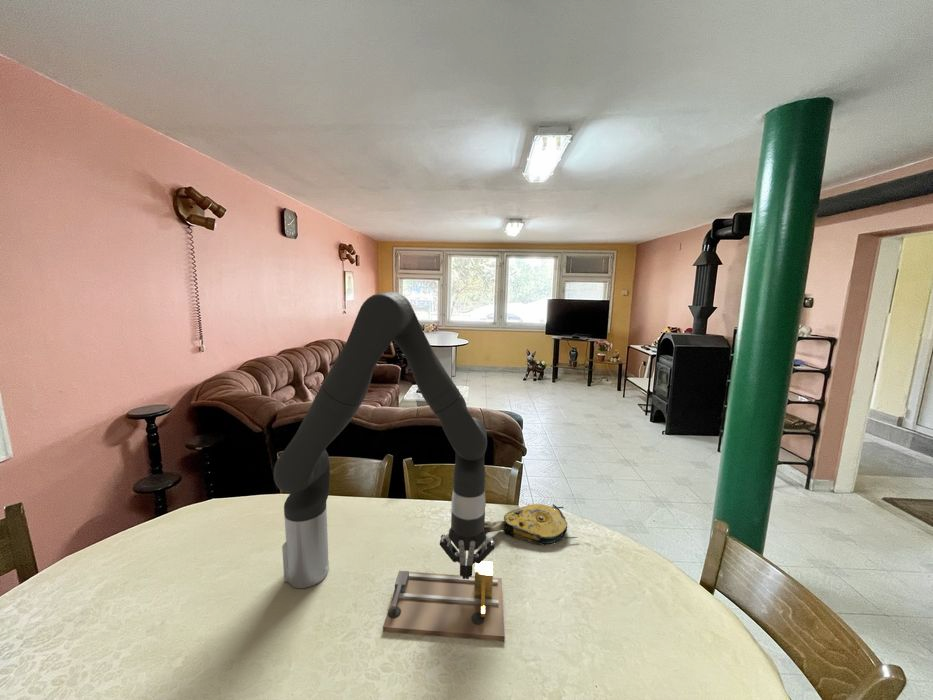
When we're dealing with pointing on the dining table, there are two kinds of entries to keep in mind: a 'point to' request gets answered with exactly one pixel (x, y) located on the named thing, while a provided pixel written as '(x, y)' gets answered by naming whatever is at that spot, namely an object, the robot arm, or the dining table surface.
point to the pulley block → (533, 524)
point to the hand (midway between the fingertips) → (466, 576)
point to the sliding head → (483, 583)
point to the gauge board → (444, 607)
